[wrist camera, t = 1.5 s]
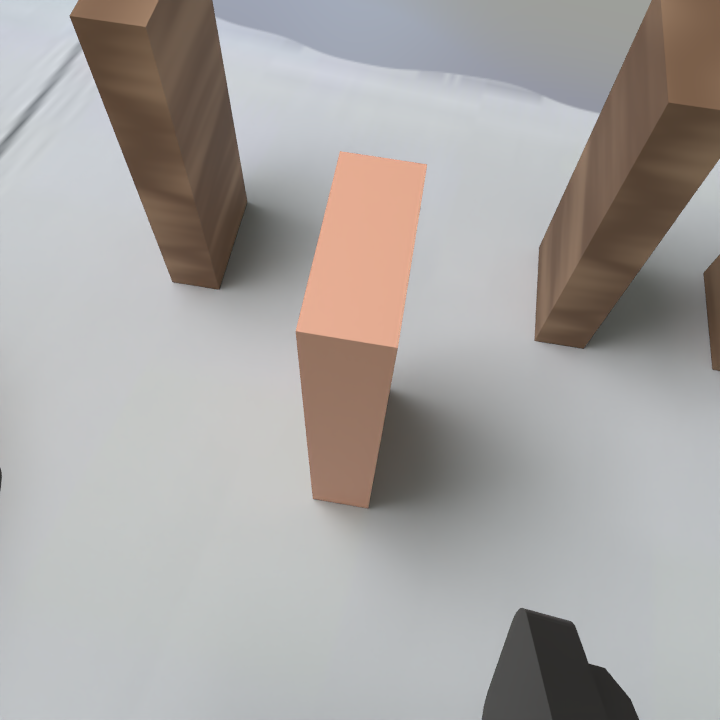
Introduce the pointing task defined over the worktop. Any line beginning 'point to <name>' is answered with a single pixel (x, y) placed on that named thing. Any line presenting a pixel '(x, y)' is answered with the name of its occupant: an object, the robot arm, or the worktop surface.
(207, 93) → the wood grain beam
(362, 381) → the terracotta tile
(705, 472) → the worktop surface
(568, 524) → the worktop surface
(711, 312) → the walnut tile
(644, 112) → the middle walnut tile
